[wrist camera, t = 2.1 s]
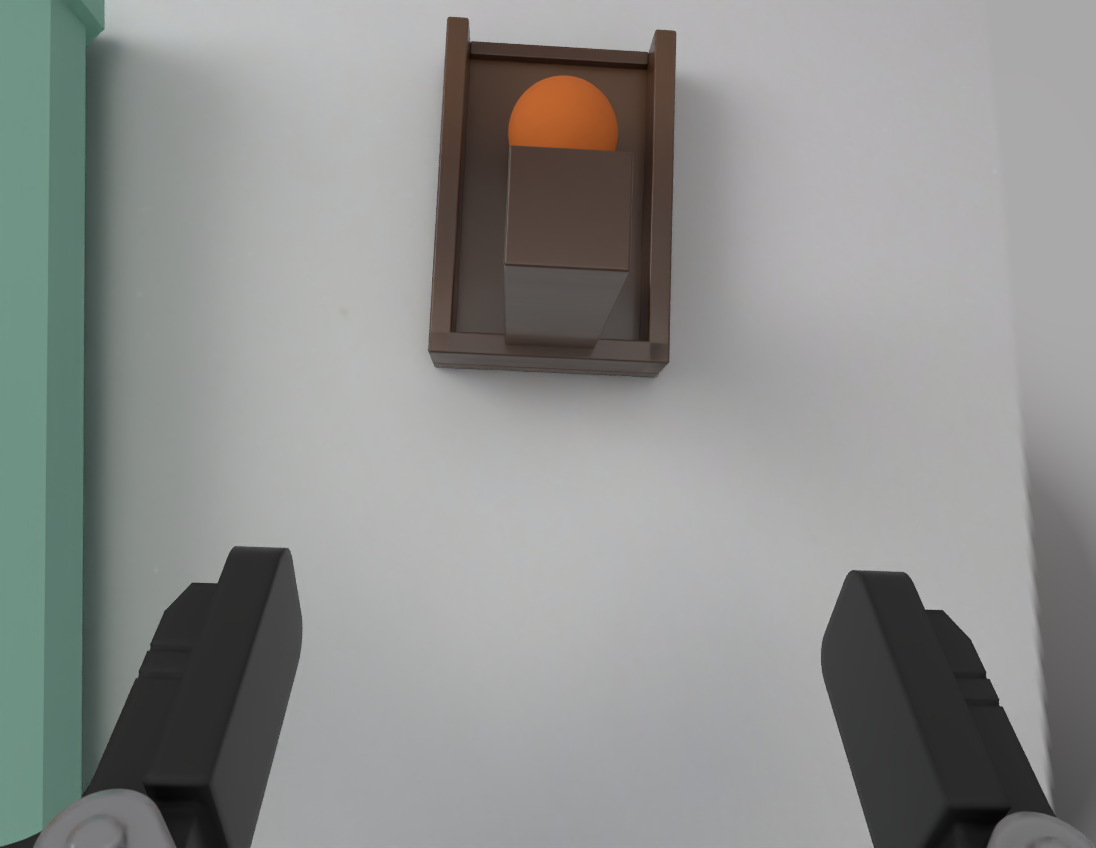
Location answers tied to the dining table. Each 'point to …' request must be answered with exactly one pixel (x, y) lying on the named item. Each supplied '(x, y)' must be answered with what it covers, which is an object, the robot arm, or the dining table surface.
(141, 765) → the robot arm
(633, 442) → the dining table surface
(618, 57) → the scoop
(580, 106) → the toy ball
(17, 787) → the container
